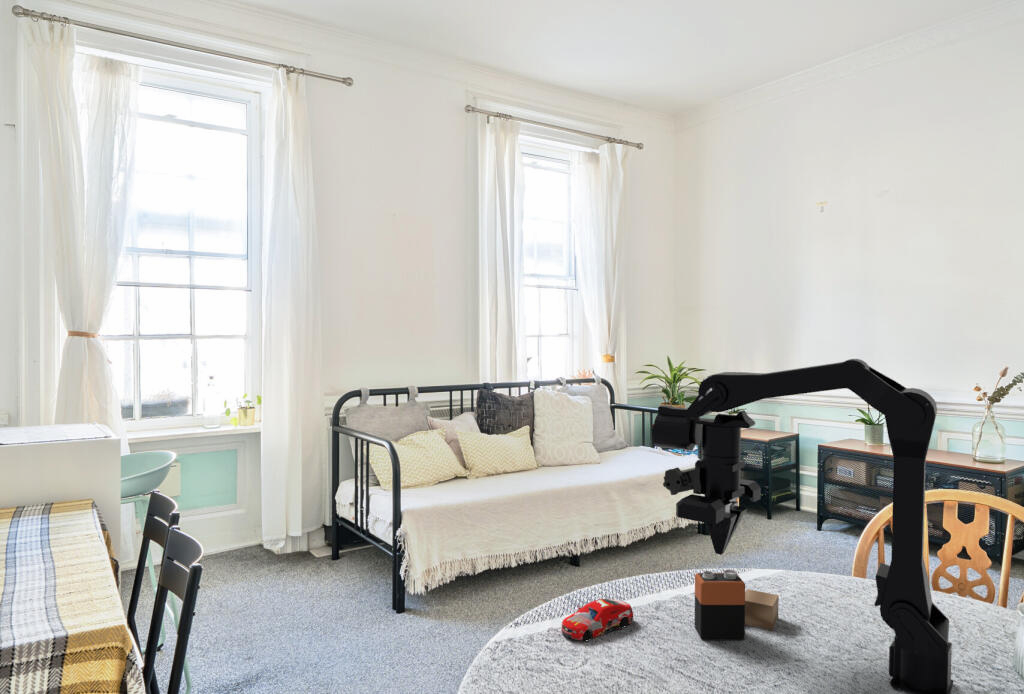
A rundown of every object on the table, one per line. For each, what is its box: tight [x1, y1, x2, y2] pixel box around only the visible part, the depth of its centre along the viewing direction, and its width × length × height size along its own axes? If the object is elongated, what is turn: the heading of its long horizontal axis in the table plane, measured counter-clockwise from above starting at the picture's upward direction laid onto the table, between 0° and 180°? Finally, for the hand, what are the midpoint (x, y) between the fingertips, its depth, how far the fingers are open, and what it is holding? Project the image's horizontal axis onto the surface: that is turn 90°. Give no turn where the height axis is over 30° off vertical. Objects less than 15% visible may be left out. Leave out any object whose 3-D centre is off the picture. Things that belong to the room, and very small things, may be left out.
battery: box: [694, 569, 746, 641], centre depth 107 cm, size 4×7×10 cm, turn 89°
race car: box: [561, 598, 634, 642], centre depth 109 cm, size 13×5×4 cm, turn 124°
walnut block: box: [745, 588, 780, 631], centre depth 112 cm, size 5×5×4 cm
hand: (719, 553), depth 106 cm, fingers closed
